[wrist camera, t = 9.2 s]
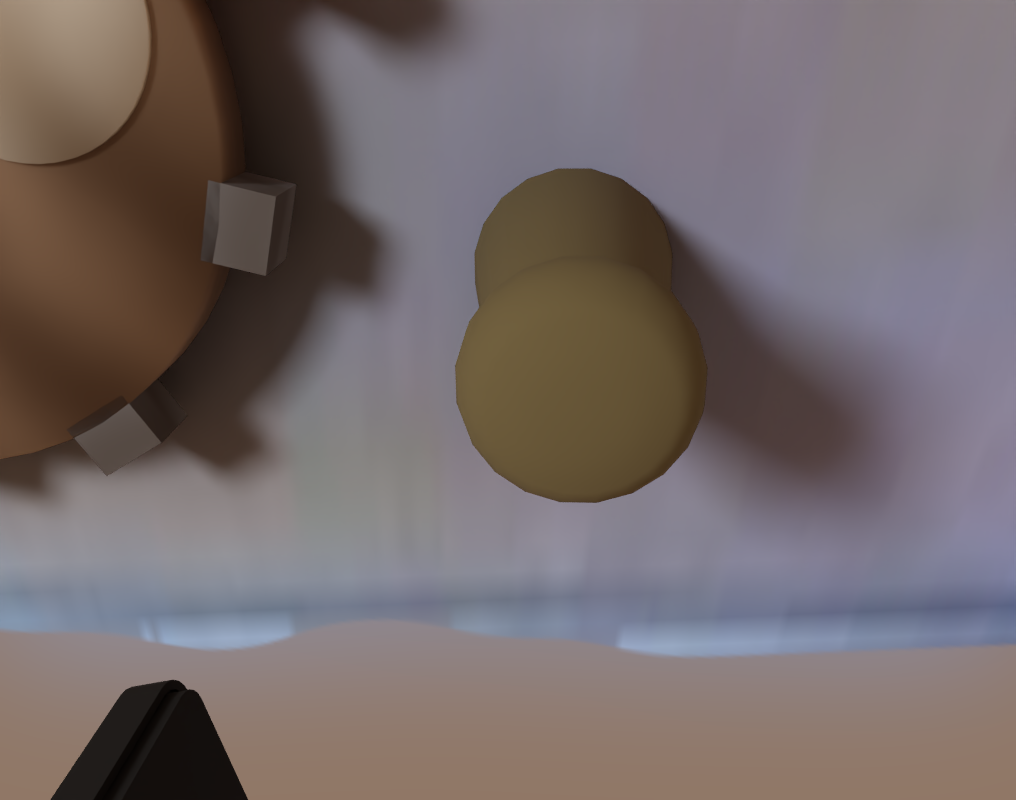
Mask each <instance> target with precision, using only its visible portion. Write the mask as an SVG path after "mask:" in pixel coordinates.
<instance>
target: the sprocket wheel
mask: <svg viewBox="0 0 1016 800" xmlns="http://www.w3.org/2000/svg"><path fill="white" fill-rule="evenodd" d="M245 169H246V165H245V152H244V140H243V127H242V118H241V113H240V108H239V103H238V98H237V93H236V89H235V84H234V79H233V74H232V70H231V67H230V64H229V61H228V58H227V55H226V52H225V49H224V46H223V43H222V40H221V37H220V34H219V31H218V28H217V25H216V22H215V20H214V18H213V16H212V14H211V11H210V9H209V7H208V5H207V3H206V0H0V459H4V458H9V457H14V456H19V455H24V454H29V453H34V452H37V451H40V450H43V449H46V448H49V447H52V446H55V445H57V444H60V443H63V442H66V441H69V440H71V439H73V438H74V439H75V440H76V441H77V442H78V443H79V445H80V446H81V447H82V448H83V449H84V450H85V452H86V453H87V454H88V455H89V456H90V457H91V458H92V460H93V461H94V462H95V463H96V464H97V465H98V467H99V468H100V469H101V470H102V471H103V472H104V473H105V475H106V476H108V475H109V474H111V473H113V472H114V471H116V470H118V469H119V468H121V467H123V466H124V465H126V464H127V463H129V462H131V461H132V460H134V459H136V458H137V457H139V456H141V455H142V454H144V453H146V452H147V451H149V450H151V449H152V448H154V447H156V446H157V445H159V444H161V443H162V442H163V441H164V440H165V439H166V438H167V437H168V436H169V434H170V433H171V432H172V431H173V430H174V429H175V428H176V427H177V426H178V425H179V424H180V423H181V422H182V421H183V420H184V419H185V418H186V417H187V415H186V413H185V412H184V411H183V410H182V408H181V407H180V406H179V405H178V403H177V402H176V401H175V400H174V398H173V397H172V396H171V395H170V393H169V392H168V391H167V390H166V389H165V387H164V386H163V385H162V384H161V382H160V381H159V380H158V378H159V377H160V376H161V375H162V374H163V373H164V372H165V371H166V370H167V369H168V368H169V367H170V366H171V365H172V364H173V363H174V362H175V361H176V360H177V359H178V358H179V357H180V356H181V355H182V354H183V353H184V352H185V351H186V349H187V348H188V347H189V345H190V344H191V342H192V341H193V340H194V338H195V337H196V335H197V334H198V333H199V331H200V330H201V328H202V327H203V326H204V324H205V323H206V321H207V319H208V318H209V316H210V314H211V312H212V310H213V308H214V306H215V304H216V302H217V300H218V298H219V296H220V294H221V292H222V290H223V288H224V285H225V282H226V279H227V276H228V273H229V270H230V268H234V269H239V270H243V271H247V272H251V273H255V274H259V275H264V276H266V275H267V274H269V273H270V272H271V271H272V270H273V269H274V268H276V267H277V266H278V265H279V264H280V263H281V262H283V261H284V260H285V259H286V257H287V250H288V242H289V235H290V228H291V221H292V213H293V206H294V199H295V192H296V184H294V183H290V182H286V181H282V180H278V179H274V178H269V177H265V176H261V175H257V174H253V173H249V172H245Z"/></svg>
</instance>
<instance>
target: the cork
mask: <svg viewBox="0 0 1016 800" xmlns="http://www.w3.org/2000/svg"><path fill="white" fill-rule="evenodd" d="M671 277H672V250H671V247H670V243H669V239H668V235H667V232H666V228H665V224H664V223H663V221H662V220H661V218H660V217H659V215H658V214H657V212H656V211H655V209H654V208H653V206H652V205H651V203H650V202H649V200H648V199H647V198H646V197H645V196H644V195H642V194H641V193H640V192H638V191H637V190H636V189H634V188H633V187H632V186H630V185H629V184H628V183H626V182H625V181H624V180H622V179H621V178H618V177H615V176H612V175H609V174H606V173H602V172H599V171H596V170H593V169H556V170H553V171H550V172H547V173H544V174H541V175H538V176H535V177H532V178H529V179H527V180H525V181H524V182H523V183H521V184H520V185H519V186H517V187H516V188H515V189H513V190H512V191H511V192H509V193H508V194H507V195H505V196H504V197H503V198H501V200H500V201H499V203H498V204H497V206H496V207H495V208H494V210H493V211H492V213H491V214H490V215H489V217H488V218H487V220H486V221H485V223H484V224H483V227H482V231H481V234H480V237H479V241H478V244H477V247H476V250H475V285H476V290H477V296H478V302H479V309H478V310H477V312H476V313H475V315H474V316H473V317H472V319H471V320H470V321H469V324H468V327H467V330H466V333H465V336H464V340H463V343H462V346H461V349H460V352H459V356H458V359H457V362H456V365H455V371H456V399H457V405H458V407H459V410H460V413H461V415H462V418H463V421H464V423H465V426H466V428H467V431H468V434H469V436H470V439H471V441H472V444H473V446H474V447H475V448H476V449H477V450H478V452H479V453H480V454H481V455H482V456H483V458H484V459H485V460H486V461H487V463H488V464H489V465H490V466H491V467H492V469H493V470H494V471H495V472H496V473H498V474H499V475H501V476H502V477H504V478H505V479H507V480H508V481H510V482H511V483H513V484H514V485H516V486H517V487H519V488H521V489H522V490H524V491H525V492H528V493H532V494H535V495H538V496H542V497H545V498H548V499H552V500H555V501H558V502H588V503H597V502H601V501H605V500H608V499H612V498H616V497H620V496H624V495H627V494H631V493H633V492H635V491H637V490H638V489H640V488H642V487H643V486H645V485H647V484H648V483H650V482H652V481H653V480H655V479H657V478H658V477H660V476H662V475H663V474H664V473H665V472H666V471H667V470H668V469H669V468H670V467H671V466H672V464H673V463H674V462H675V461H676V460H677V459H678V458H679V457H680V456H681V454H682V453H683V452H684V451H685V450H686V449H687V448H688V446H689V443H690V441H691V439H692V437H693V434H694V432H695V430H696V428H697V425H698V423H699V421H700V419H701V416H702V414H703V409H704V405H705V394H706V381H707V369H708V368H707V364H706V360H705V356H704V353H703V349H702V345H701V341H700V338H699V334H698V331H697V329H696V327H695V325H694V323H693V322H692V320H691V319H690V317H689V316H688V314H687V313H686V311H685V310H684V309H683V307H682V306H681V304H680V303H679V301H678V300H677V298H676V297H675V296H674V294H673V293H672V291H671Z"/></svg>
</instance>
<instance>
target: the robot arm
mask: <svg viewBox="0 0 1016 800" xmlns="http://www.w3.org/2000/svg"><path fill="white" fill-rule="evenodd" d="M51 800H248V799H247V797H246V794H245V792H244V790H243V788H242V786H241V784H240V781H239V779H238V777H237V775H236V773H235V770H234V768H233V766H232V764H231V762H230V760H229V757H228V755H227V753H226V751H225V749H224V747H223V745H222V742H221V740H220V738H219V736H218V734H217V731H216V729H215V727H214V725H213V723H212V721H211V718H210V716H209V714H208V712H207V710H206V708H205V705H204V703H203V701H202V699H201V697H200V696H199V694H198V693H197V692H196V691H194V690H187V689H186V687H185V686H184V685H183V684H182V683H181V682H180V681H177V680H169V681H163V682H157V683H152V684H146V685H141V686H135V687H131V688H129V689H126V690H125V691H124V692H123V693H122V694H121V696H120V697H119V699H118V700H117V701H116V703H115V704H114V706H113V707H112V709H111V710H110V712H109V713H108V715H107V716H106V718H105V719H104V721H103V722H102V724H101V725H100V727H99V728H98V730H97V731H96V733H95V734H94V736H93V737H92V739H91V740H90V742H89V743H88V745H87V746H86V748H85V749H84V751H83V752H82V754H81V755H80V757H79V758H78V759H77V761H76V762H75V764H74V766H73V767H72V768H71V770H70V772H69V773H68V774H67V776H66V778H65V779H64V780H63V782H62V783H61V785H60V786H59V788H58V789H57V791H56V792H55V794H54V795H53V797H52V798H51Z"/></svg>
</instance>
